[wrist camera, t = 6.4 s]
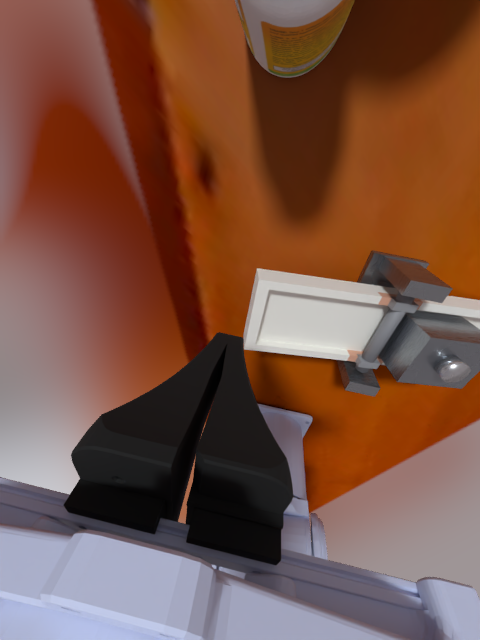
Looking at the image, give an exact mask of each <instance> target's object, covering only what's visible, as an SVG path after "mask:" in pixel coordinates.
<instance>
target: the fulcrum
mask: <svg viewBox="0 0 480 640" xmlns="http://www.w3.org/2000/svg"><path fill="white" fill-rule="evenodd" d="M428 265H429V263H427V262H426V261H423V260H418V259H413V258H408V257H403V256H397V255H392V254H387V253H382V252H377V251H371V253H370V255H369V258H368V260H367V262H366V264H365V266H364V268H363V270H362V273H361V275H360V277H359V279H358V281H357V283H363V284H370V285H377V286H384V287H391V288H396V289H397V290H398V291H399V293H400V294H401V295H403V296H408V297H413V298H418V299H423V300H428V301H433V302H438V303H443V301H444V300H445V298H446V297H447V296H448V294H449V293H450V291H451V290H452V289H453V288H451V287H450V286H448V285H447V284H446V283H444V282H443V281H442V280H440V279H439V278H437V277H436V276H435V275H433V274H432V273H431V272H429V271H428V270H427V269H426V268H427V266H428ZM337 363H338V367H339V370H340V374H341V378H342V381H343V385H344V388H345V390H347V391H352V392H356V393H361V394H365V395H370V396H375V395H376V394H377V392H378V391H379V390H380V386H379V384H378V382H377V379H376V377H375V375H374V373H373V370H372V369H371V368H370V369H369V371H368V372H367V373H361V372H359V371H358V370H357V369H356V367H355V366H356V363H355V362H352V361H344V360H337Z"/></svg>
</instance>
